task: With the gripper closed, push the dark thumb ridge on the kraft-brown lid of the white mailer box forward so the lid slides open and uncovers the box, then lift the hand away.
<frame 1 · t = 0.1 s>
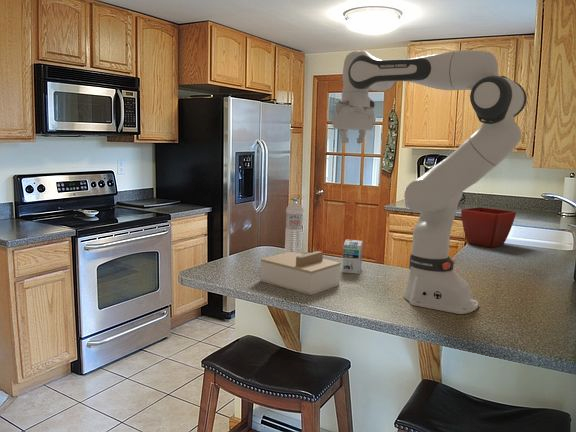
hand: (352, 143, 171), 48 cm above the countertop, fingers open, 8 cm apart
light bulb box: (351, 270, 191), on the countertop
mailer lid: (300, 257, 170), point 9 cm above the countertop, slide at 0.0 cm
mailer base: (299, 283, 172), on the countertop
plant pot: (485, 244, 247), on the countertop
water bottle: (293, 259, 205), on the countertop
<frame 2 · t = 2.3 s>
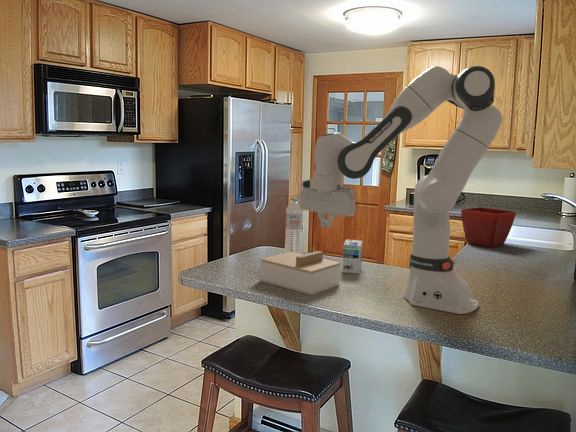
hand: (325, 226, 162), 21 cm above the countertop, fingers closed
nothing on the countertop moved.
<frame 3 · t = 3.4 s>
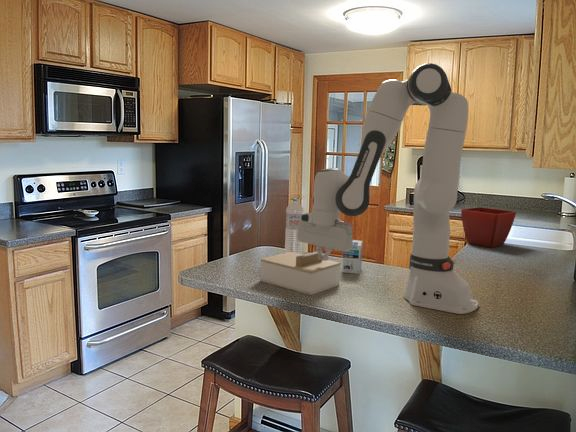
hand: (323, 259, 164), 10 cm above the countertop, fingers closed
nothing on the countertop moved.
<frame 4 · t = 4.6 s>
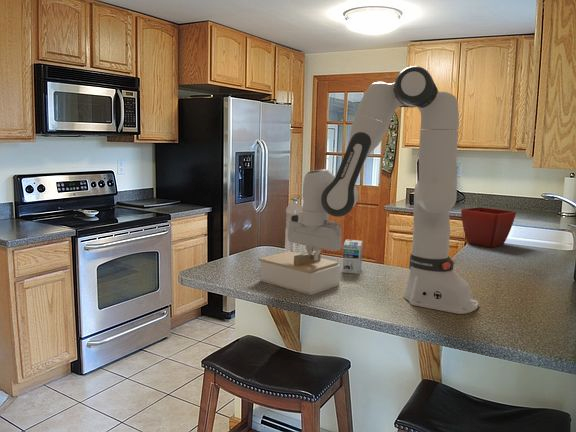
hand: (313, 259, 167), 9 cm above the countertop, fingers closed
mailer lid: (298, 257, 171), point 9 cm above the countertop, slide at 0.9 cm, touching gripper
everything else where it was.
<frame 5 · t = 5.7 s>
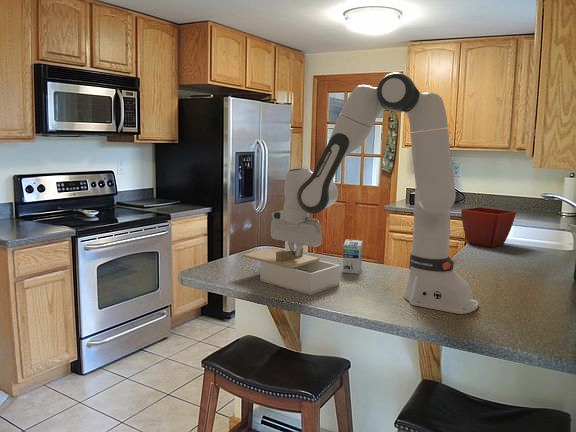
hand: (294, 255, 172), 9 cm above the countertop, fingers closed
mailer lid: (281, 253, 176), point 9 cm above the countertop, slide at 8.8 cm, touching gripper
everything else where it was.
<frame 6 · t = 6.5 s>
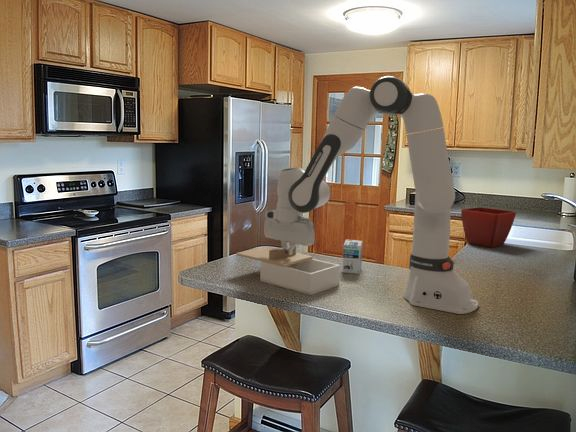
hand: (288, 254, 174), 9 cm above the countertop, fingers closed
mailer lid: (274, 251, 178), point 9 cm above the countertop, slide at 11.9 cm, touching gripper
everything else where it was.
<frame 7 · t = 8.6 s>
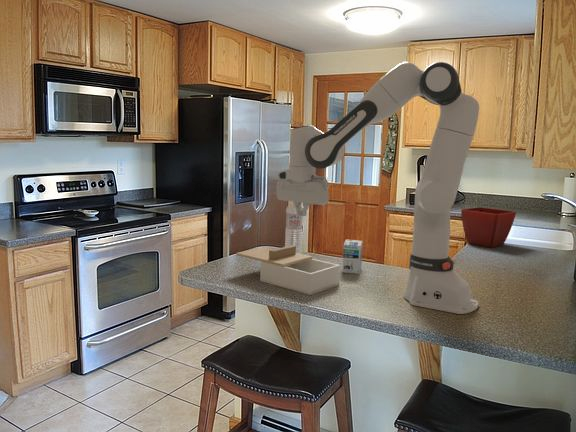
hand: (301, 215, 169), 23 cm above the countertop, fingers closed
mailer lid: (274, 251, 178), point 9 cm above the countertop, slide at 12.0 cm
everything else where it was.
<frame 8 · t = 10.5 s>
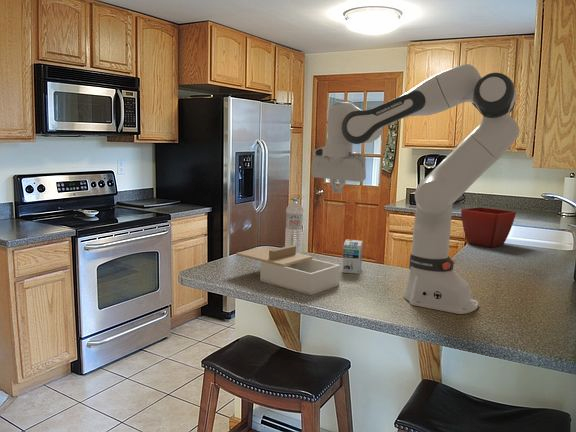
hand: (337, 192, 170), 31 cm above the countertop, fingers closed
nothing on the countertop moved.
at the end: mailer lid slide at 12.0 cm; light bulb box moved 0.3 cm from its start; water bottle moved 0.2 cm from its start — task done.
